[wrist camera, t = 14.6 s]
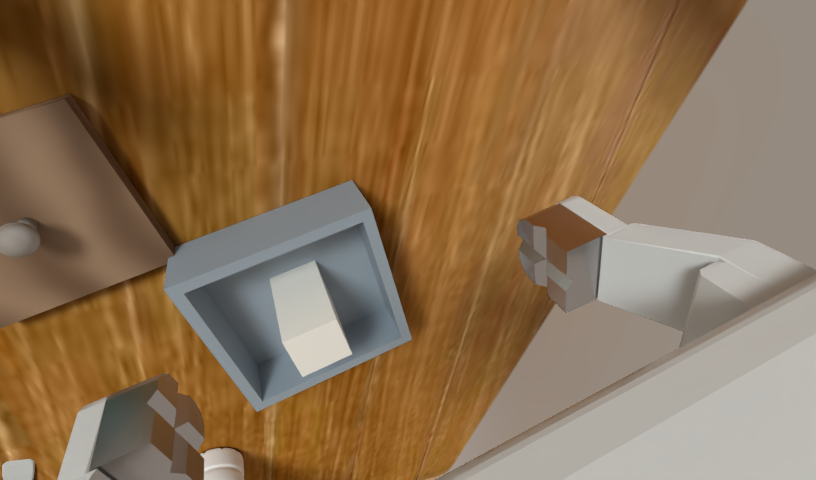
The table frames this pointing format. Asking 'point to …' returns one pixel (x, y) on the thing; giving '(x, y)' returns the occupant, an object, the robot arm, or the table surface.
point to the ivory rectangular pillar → (308, 319)
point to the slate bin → (253, 300)
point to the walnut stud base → (66, 213)
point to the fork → (18, 470)
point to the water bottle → (223, 464)
